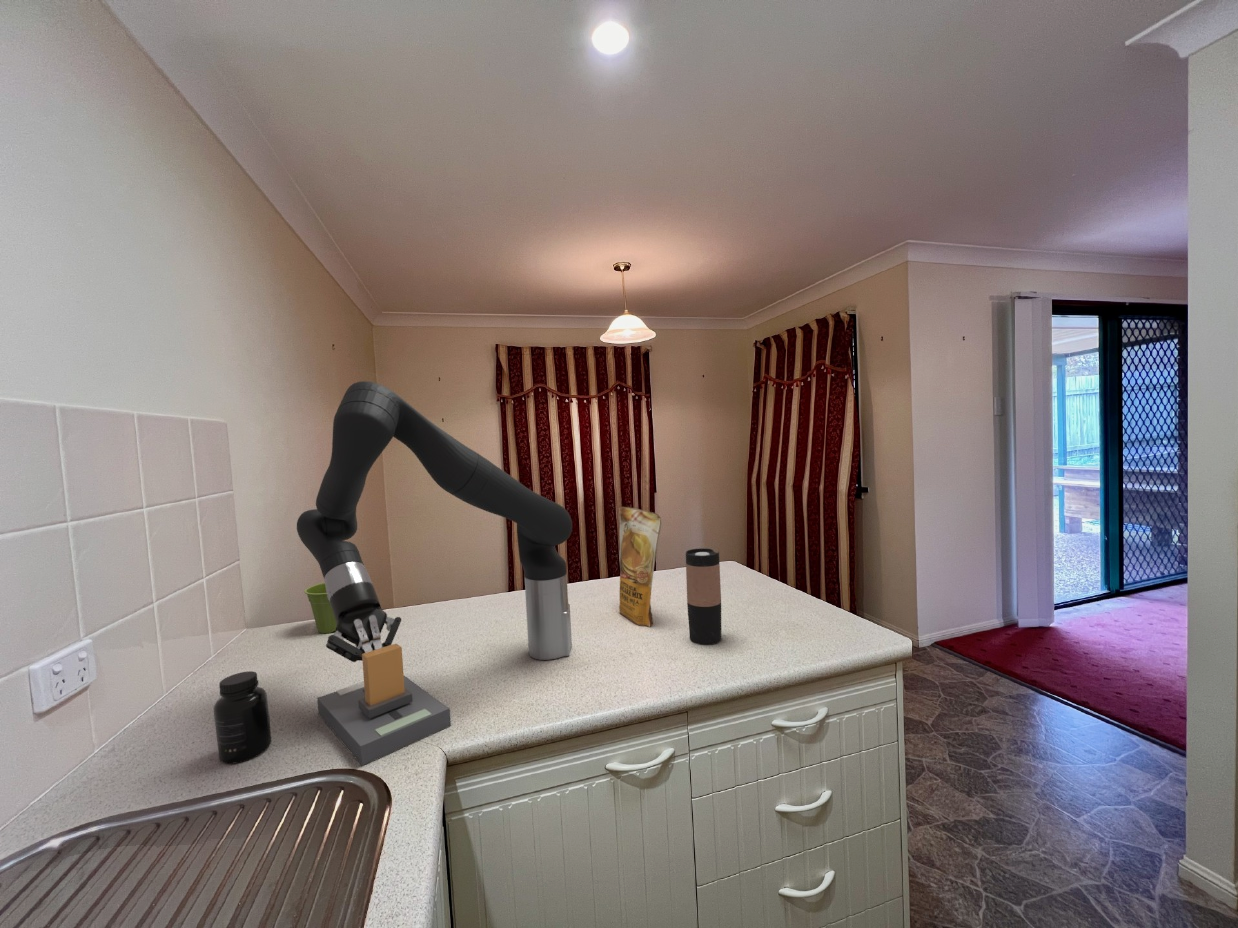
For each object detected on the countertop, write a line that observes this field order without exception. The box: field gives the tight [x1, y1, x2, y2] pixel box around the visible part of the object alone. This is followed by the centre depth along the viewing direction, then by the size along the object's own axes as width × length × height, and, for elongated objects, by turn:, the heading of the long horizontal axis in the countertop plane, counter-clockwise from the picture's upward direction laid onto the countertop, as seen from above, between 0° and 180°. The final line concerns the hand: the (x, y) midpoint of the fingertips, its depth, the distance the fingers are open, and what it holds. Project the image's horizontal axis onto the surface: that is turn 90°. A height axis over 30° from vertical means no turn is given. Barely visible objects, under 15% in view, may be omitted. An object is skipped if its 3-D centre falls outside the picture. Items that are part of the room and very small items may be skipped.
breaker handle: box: [358, 643, 413, 718], centre depth 87 cm, size 5×7×9 cm
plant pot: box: [304, 582, 337, 634], centre depth 136 cm, size 12×12×11 cm
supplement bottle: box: [213, 670, 272, 765], centre depth 81 cm, size 7×7×12 cm
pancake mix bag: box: [618, 506, 662, 627], centre depth 133 cm, size 7×19×28 cm, turn 25°
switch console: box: [316, 675, 452, 767], centre depth 89 cm, size 22×14×3 cm, turn 45°
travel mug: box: [685, 547, 722, 646], centre depth 117 cm, size 8×8×20 cm
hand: (380, 675), depth 89 cm, fingers closed
